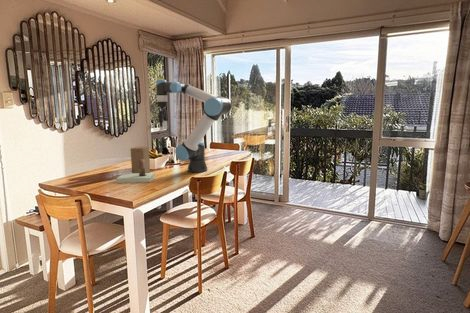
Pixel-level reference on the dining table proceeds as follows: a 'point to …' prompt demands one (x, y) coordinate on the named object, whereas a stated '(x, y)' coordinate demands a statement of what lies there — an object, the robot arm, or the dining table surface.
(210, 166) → the dining table surface
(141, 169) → the walnut peg
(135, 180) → the board
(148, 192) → the dining table surface
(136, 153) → the wooden block
